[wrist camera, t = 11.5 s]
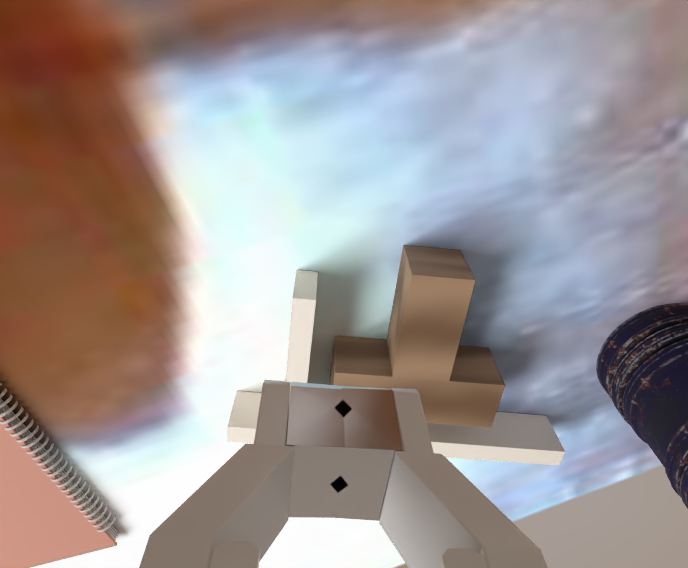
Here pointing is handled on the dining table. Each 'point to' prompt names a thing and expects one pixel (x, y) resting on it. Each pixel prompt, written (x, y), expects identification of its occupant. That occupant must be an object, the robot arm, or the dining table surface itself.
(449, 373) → the t block
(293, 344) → the corner fence
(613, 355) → the rusty oil barrel
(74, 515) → the notebook
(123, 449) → the dining table surface
